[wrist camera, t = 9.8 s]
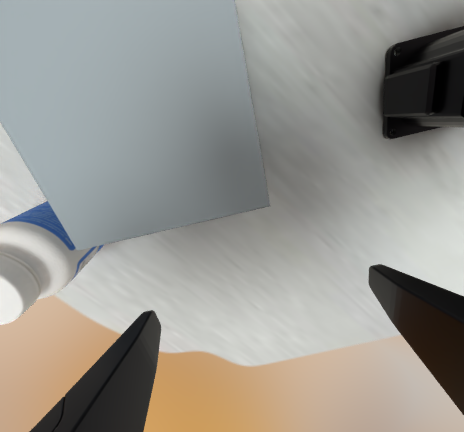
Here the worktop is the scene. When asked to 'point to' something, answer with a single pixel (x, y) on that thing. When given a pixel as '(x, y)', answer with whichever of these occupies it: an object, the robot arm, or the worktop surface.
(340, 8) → the worktop surface
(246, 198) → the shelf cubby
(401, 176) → the worktop surface
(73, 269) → the pill bottle
